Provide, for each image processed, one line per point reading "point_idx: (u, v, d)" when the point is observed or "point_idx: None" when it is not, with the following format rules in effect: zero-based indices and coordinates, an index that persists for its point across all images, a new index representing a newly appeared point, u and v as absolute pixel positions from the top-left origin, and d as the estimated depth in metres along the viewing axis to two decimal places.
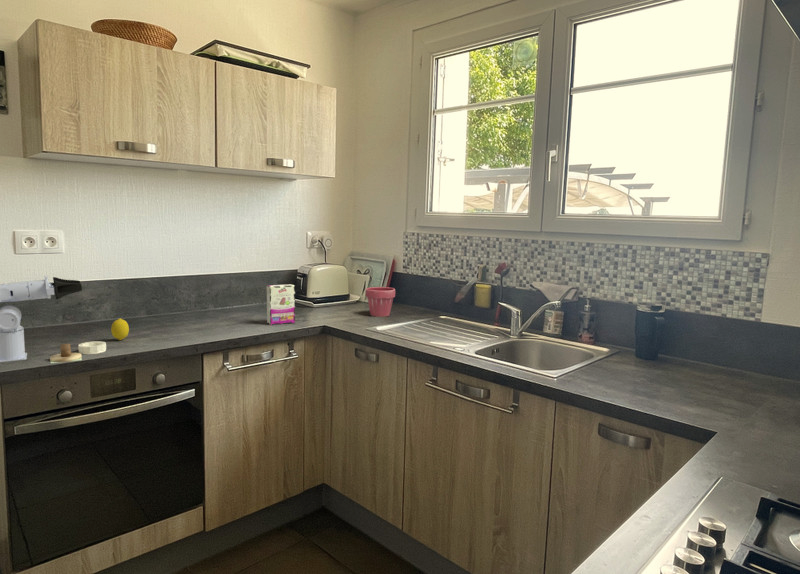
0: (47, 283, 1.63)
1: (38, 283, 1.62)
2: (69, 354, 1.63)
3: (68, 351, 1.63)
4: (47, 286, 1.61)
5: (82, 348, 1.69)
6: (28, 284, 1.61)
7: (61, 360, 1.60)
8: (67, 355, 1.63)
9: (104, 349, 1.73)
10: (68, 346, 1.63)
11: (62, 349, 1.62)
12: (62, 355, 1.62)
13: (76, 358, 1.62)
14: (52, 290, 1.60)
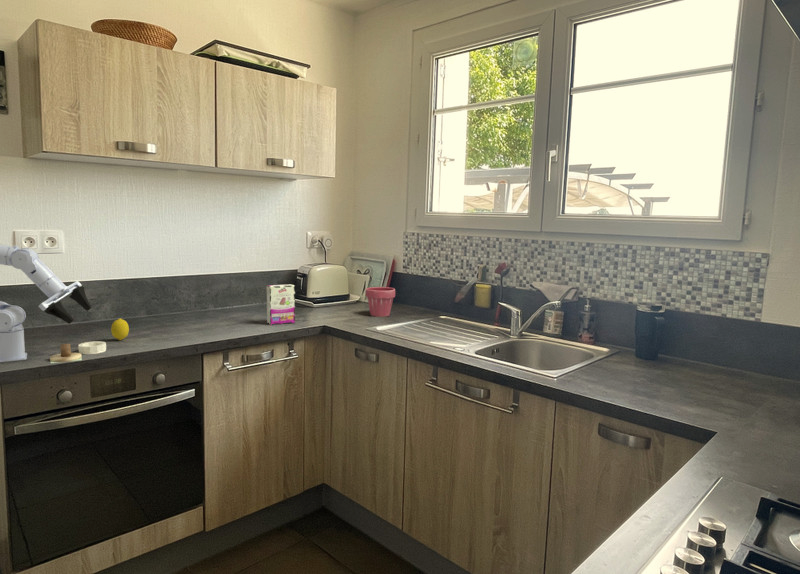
0: (54, 296, 1.60)
1: (52, 288, 1.61)
2: (69, 354, 1.63)
3: (68, 351, 1.63)
4: (48, 300, 1.59)
5: (82, 348, 1.69)
6: (46, 281, 1.60)
7: (61, 360, 1.60)
8: (67, 355, 1.63)
9: (104, 349, 1.73)
10: (68, 346, 1.63)
11: (62, 349, 1.62)
12: (62, 355, 1.62)
13: (76, 358, 1.62)
14: (44, 308, 1.58)
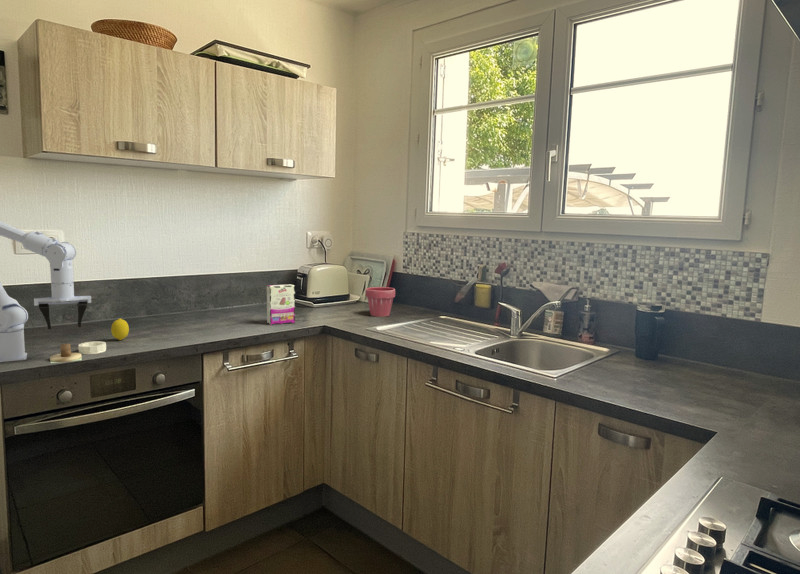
0: (50, 300, 1.58)
1: (55, 292, 1.58)
2: (69, 354, 1.63)
3: (68, 351, 1.63)
4: (42, 300, 1.57)
5: (82, 348, 1.69)
6: (55, 284, 1.58)
7: (61, 360, 1.60)
8: (67, 355, 1.63)
9: (104, 349, 1.73)
10: (68, 346, 1.63)
11: (62, 349, 1.62)
12: (62, 355, 1.62)
13: (76, 358, 1.62)
14: (34, 304, 1.57)
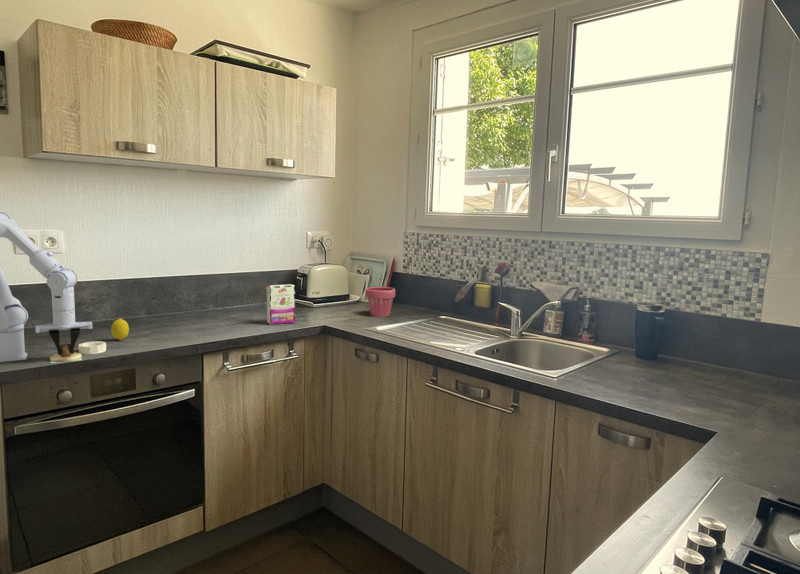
0: (51, 327, 1.59)
1: (56, 319, 1.59)
2: (69, 354, 1.63)
3: (68, 351, 1.63)
4: (44, 327, 1.58)
5: (82, 348, 1.69)
6: (56, 311, 1.59)
7: (61, 360, 1.60)
8: (67, 355, 1.63)
9: (104, 349, 1.73)
10: (68, 346, 1.63)
11: (62, 349, 1.62)
12: (62, 355, 1.62)
13: (76, 358, 1.62)
14: None
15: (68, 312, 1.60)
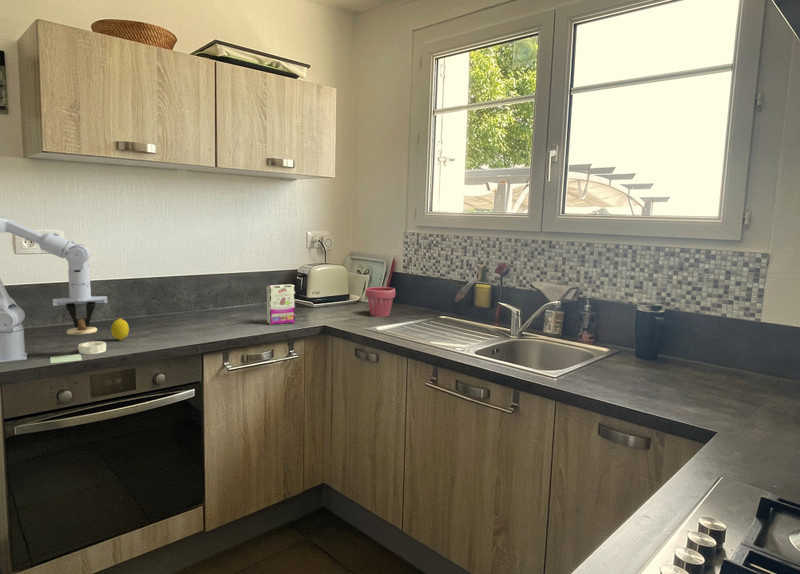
0: (68, 300, 1.64)
1: (72, 293, 1.64)
2: (85, 328, 1.68)
3: (84, 324, 1.68)
4: (61, 300, 1.63)
5: (82, 348, 1.69)
6: (72, 285, 1.64)
7: (77, 333, 1.64)
8: (83, 328, 1.67)
9: (104, 349, 1.73)
10: (84, 320, 1.67)
11: (78, 322, 1.67)
12: (78, 328, 1.67)
13: (91, 331, 1.67)
14: (53, 304, 1.63)
15: (84, 286, 1.65)
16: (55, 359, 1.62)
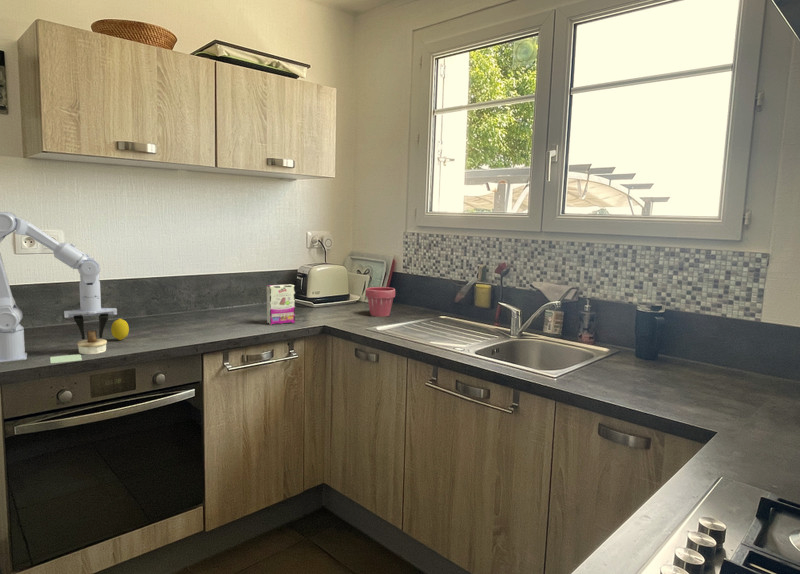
0: (79, 313, 1.68)
1: (83, 305, 1.68)
2: (95, 340, 1.72)
3: (94, 337, 1.72)
4: (72, 312, 1.67)
5: (82, 348, 1.69)
6: (83, 297, 1.68)
7: (87, 345, 1.69)
8: (93, 341, 1.72)
9: (104, 349, 1.73)
10: (94, 332, 1.72)
11: (89, 335, 1.71)
12: (89, 341, 1.71)
13: (101, 344, 1.71)
14: (64, 316, 1.67)
15: (95, 298, 1.69)
16: (55, 359, 1.62)
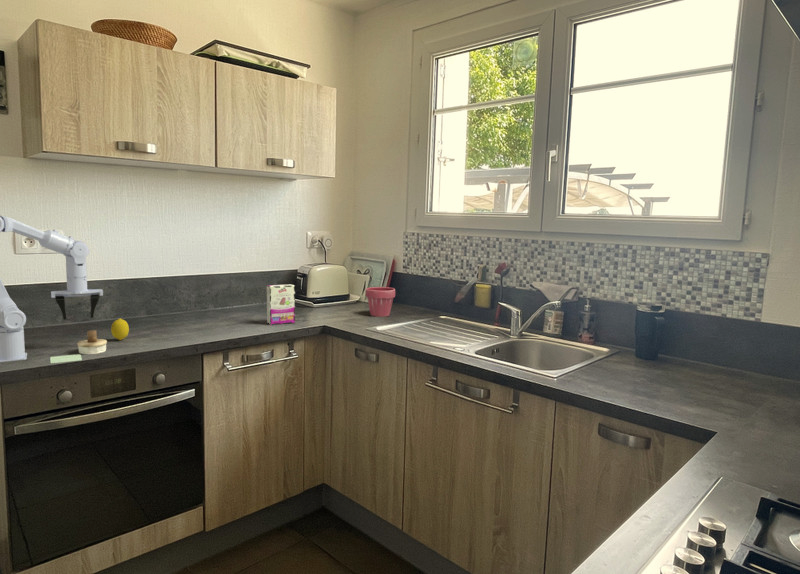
0: (65, 293, 1.73)
1: (70, 286, 1.73)
2: (95, 340, 1.72)
3: (94, 337, 1.72)
4: (59, 293, 1.72)
5: (82, 348, 1.69)
6: (70, 278, 1.73)
7: (87, 345, 1.69)
8: (93, 341, 1.72)
9: (104, 349, 1.73)
10: (94, 332, 1.72)
11: (89, 335, 1.71)
12: (89, 341, 1.71)
13: (101, 344, 1.71)
14: (51, 296, 1.72)
15: (81, 279, 1.74)
16: (55, 359, 1.62)
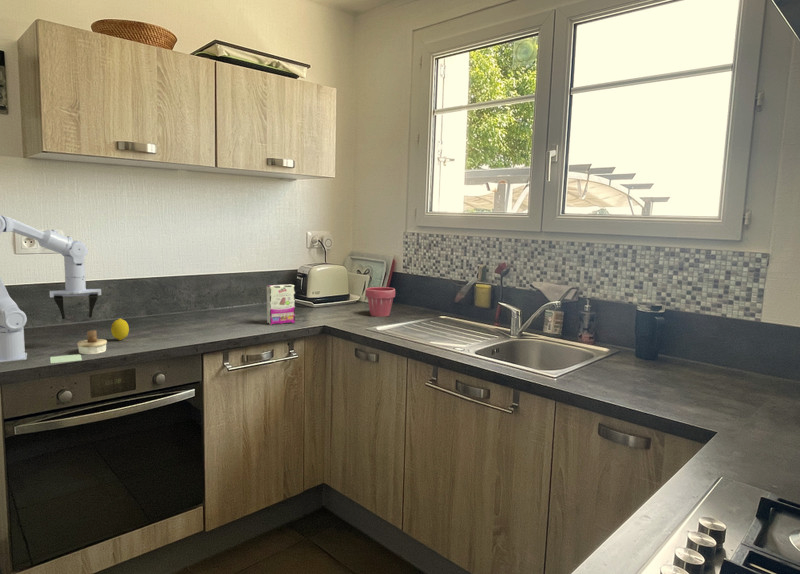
0: (64, 293, 1.73)
1: (68, 285, 1.74)
2: (95, 340, 1.72)
3: (94, 337, 1.72)
4: (57, 292, 1.73)
5: (82, 348, 1.69)
6: (68, 278, 1.73)
7: (87, 345, 1.69)
8: (93, 341, 1.72)
9: (104, 349, 1.73)
10: (94, 332, 1.72)
11: (89, 335, 1.71)
12: (89, 341, 1.71)
13: (101, 344, 1.71)
14: None
15: (79, 279, 1.75)
16: (55, 359, 1.62)
